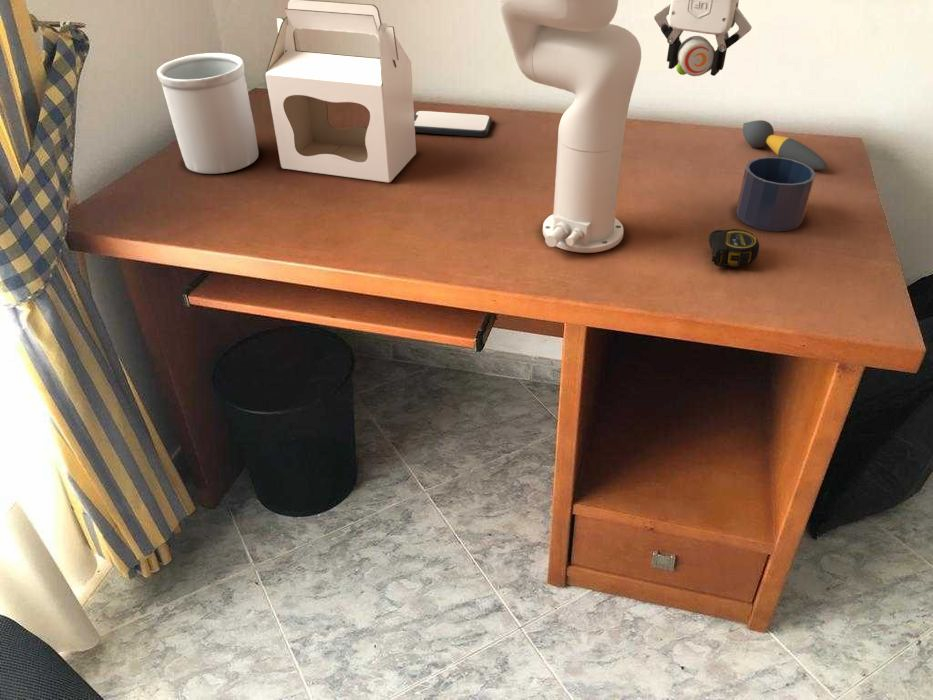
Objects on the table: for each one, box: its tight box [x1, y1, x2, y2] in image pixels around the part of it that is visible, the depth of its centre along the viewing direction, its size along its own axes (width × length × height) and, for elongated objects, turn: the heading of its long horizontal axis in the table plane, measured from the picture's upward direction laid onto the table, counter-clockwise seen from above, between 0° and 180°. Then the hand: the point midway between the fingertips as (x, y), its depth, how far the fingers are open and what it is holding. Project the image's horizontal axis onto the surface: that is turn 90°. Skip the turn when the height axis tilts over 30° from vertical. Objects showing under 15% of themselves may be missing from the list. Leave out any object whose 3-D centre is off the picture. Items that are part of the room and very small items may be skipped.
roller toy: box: [676, 35, 716, 77], centre depth 131 cm, size 4×6×6 cm
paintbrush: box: [742, 119, 827, 171], centre depth 144 cm, size 20×5×5 cm, turn 38°
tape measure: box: [708, 228, 760, 268], centre depth 115 cm, size 7×7×4 cm
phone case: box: [414, 110, 493, 138], centre depth 158 cm, size 9×2×16 cm
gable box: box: [264, 0, 417, 184], centre depth 137 cm, size 22×13×28 cm, turn 72°
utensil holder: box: [156, 52, 259, 175], centre depth 142 cm, size 15×15×18 cm
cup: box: [735, 156, 816, 232], centre depth 124 cm, size 10×10×8 cm
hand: (693, 69), depth 132 cm, fingers closed on roller toy, 6 cm apart
